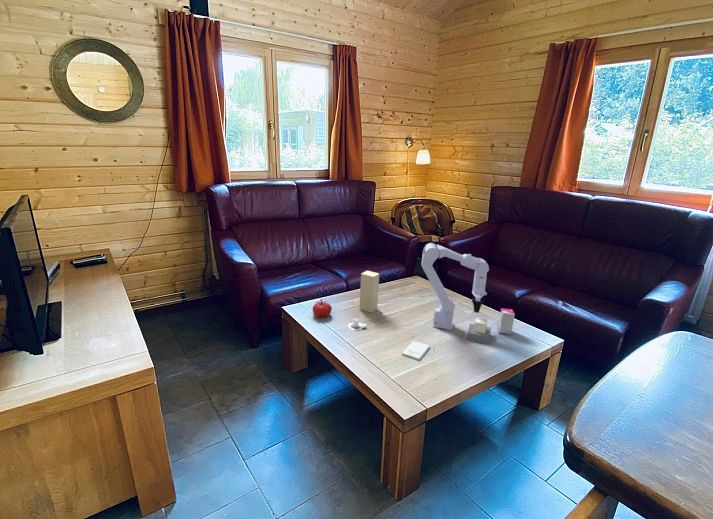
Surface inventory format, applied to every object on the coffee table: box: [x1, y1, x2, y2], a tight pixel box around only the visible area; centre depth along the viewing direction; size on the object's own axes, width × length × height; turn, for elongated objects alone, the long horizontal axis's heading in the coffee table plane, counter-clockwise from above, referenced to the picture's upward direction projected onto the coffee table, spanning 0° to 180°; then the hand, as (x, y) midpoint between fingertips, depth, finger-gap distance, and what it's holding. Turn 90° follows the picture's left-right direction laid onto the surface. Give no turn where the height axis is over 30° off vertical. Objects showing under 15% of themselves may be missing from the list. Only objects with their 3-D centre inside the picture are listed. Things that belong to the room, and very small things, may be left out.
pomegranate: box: [312, 298, 333, 319], centre depth 201 cm, size 10×10×9 cm
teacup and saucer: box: [347, 318, 367, 331], centre depth 191 cm, size 9×8×4 cm
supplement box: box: [497, 308, 516, 336], centre depth 189 cm, size 6×6×12 cm
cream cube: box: [474, 317, 488, 334], centre depth 183 cm, size 5×5×5 cm
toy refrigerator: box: [359, 270, 380, 313], centre depth 209 cm, size 8×7×21 cm
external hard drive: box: [401, 340, 431, 361], centre depth 171 cm, size 2×8×12 cm
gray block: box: [466, 323, 492, 345], centre depth 185 cm, size 10×10×4 cm
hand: (476, 309), depth 191 cm, fingers open, 7 cm apart
